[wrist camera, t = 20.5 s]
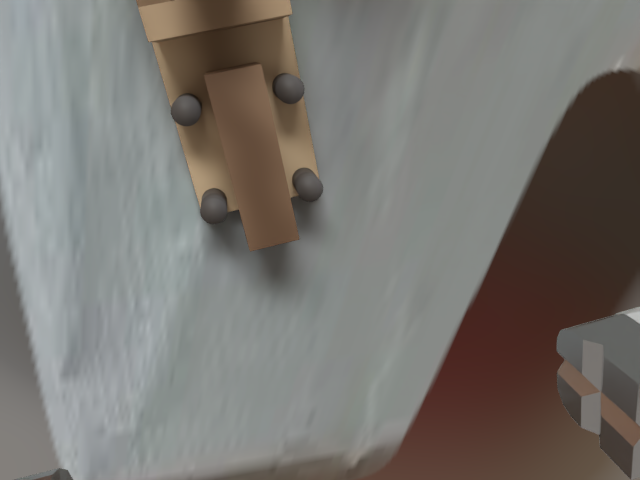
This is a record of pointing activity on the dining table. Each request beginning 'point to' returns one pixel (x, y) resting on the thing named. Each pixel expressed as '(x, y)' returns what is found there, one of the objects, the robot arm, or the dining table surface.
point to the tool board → (223, 52)
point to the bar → (252, 154)
